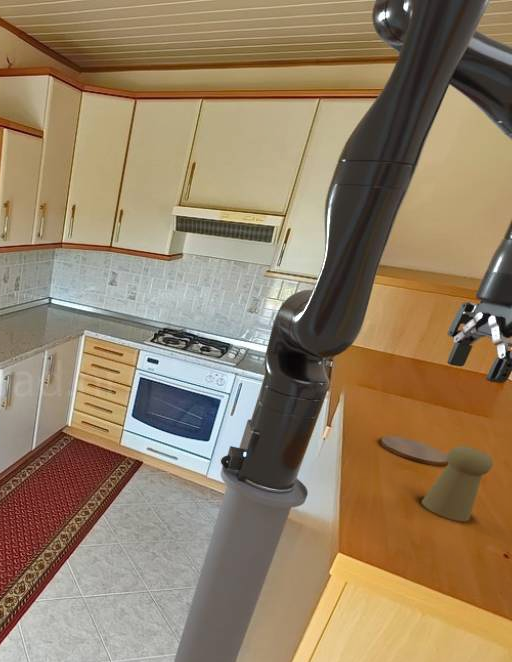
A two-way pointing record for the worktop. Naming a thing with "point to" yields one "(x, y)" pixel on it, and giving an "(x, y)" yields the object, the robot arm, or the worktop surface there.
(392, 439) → the disc
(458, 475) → the cork
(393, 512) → the worktop surface
